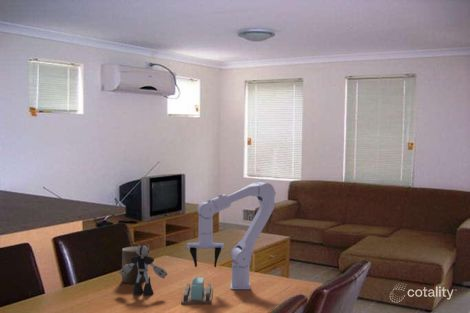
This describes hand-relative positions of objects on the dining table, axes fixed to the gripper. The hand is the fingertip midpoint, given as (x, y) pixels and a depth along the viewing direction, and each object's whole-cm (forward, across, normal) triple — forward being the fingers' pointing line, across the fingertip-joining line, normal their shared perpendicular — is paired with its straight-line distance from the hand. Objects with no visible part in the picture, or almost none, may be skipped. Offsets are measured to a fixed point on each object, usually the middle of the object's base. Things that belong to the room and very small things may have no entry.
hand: (205, 266), depth 200 cm
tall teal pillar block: (+8, -2, -9) cm, 13 cm away
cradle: (+9, -2, -9) cm, 13 cm away
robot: (+10, -24, -5) cm, 26 cm away
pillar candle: (+10, -31, +12) cm, 35 cm away
